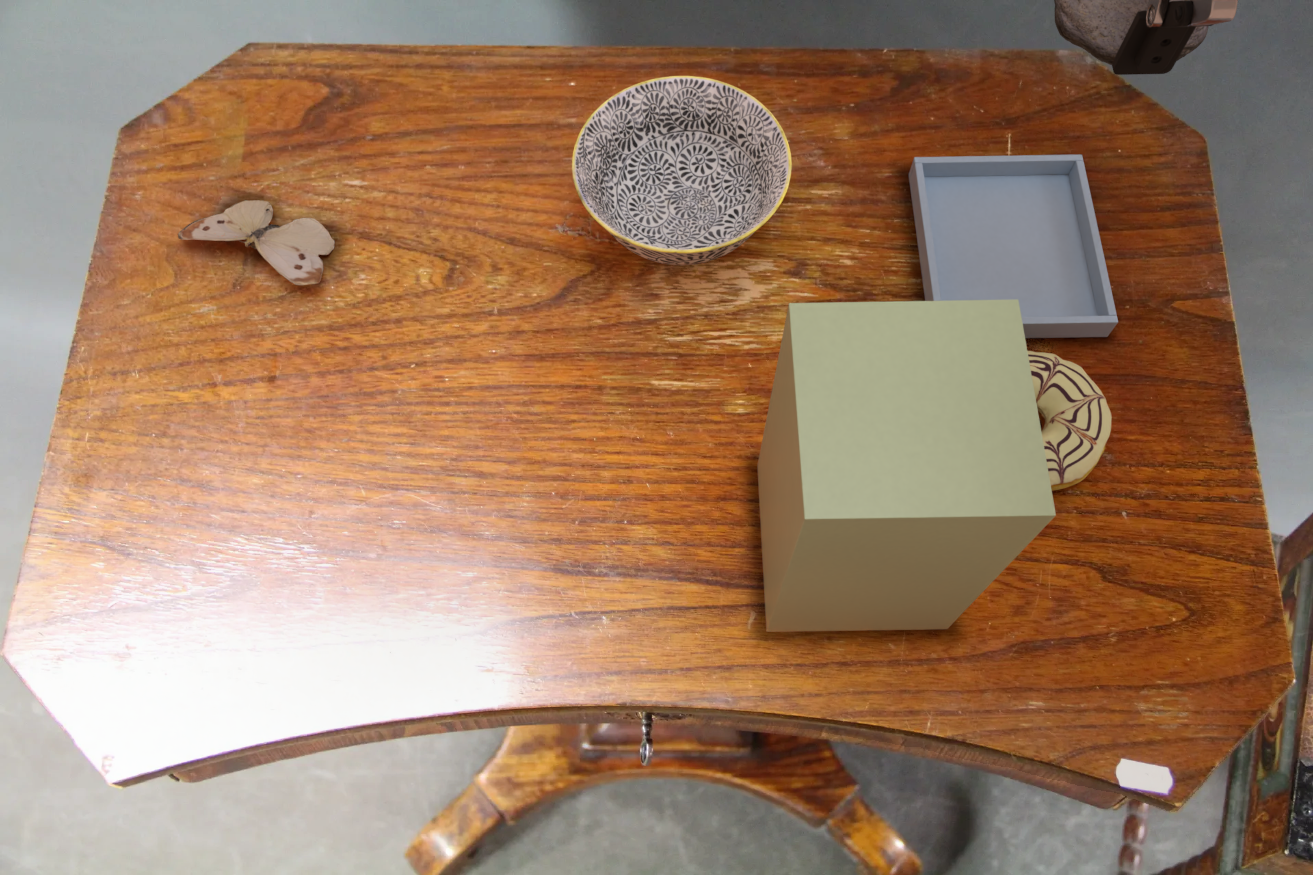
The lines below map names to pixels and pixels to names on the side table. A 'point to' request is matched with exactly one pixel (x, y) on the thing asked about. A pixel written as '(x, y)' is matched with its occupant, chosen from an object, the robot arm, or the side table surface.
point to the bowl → (681, 168)
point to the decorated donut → (1069, 418)
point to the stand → (897, 463)
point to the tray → (1014, 239)
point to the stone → (1106, 25)
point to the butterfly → (269, 238)
